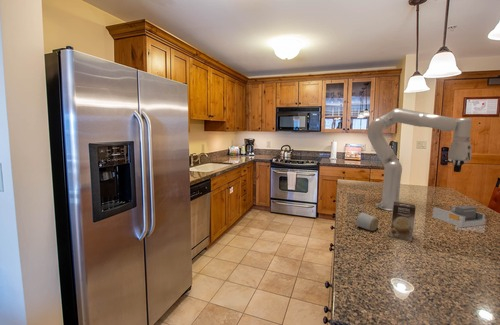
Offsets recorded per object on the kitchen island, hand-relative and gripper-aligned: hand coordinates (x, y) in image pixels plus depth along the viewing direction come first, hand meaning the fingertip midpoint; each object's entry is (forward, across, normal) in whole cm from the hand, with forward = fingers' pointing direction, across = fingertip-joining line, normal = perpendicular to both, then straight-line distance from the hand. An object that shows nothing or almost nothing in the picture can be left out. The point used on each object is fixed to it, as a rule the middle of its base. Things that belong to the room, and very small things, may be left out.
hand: (457, 171), depth 150 cm
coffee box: (+27, -16, +54) cm, 63 cm away
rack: (+27, -6, +4) cm, 28 cm away
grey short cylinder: (+27, -3, +62) cm, 67 cm away
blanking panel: (+26, -10, +4) cm, 28 cm away
